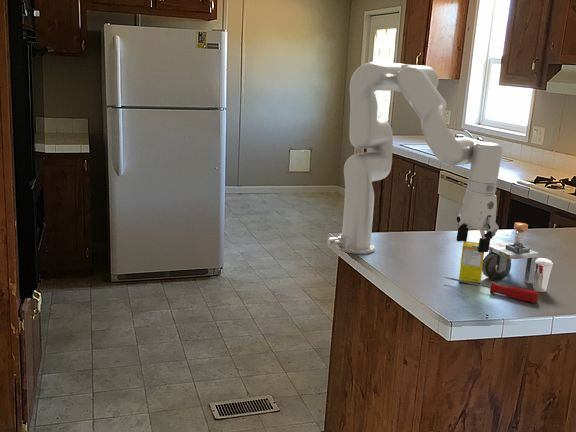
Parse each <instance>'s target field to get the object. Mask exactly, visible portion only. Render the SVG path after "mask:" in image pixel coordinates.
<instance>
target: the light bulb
mask: <svg viewBox="0 0 576 432" xmlns="http://www.w3.org/2000/svg"><path fill="white" fill-rule="evenodd" d="M528 227H529V224H528V223H525V222H514V225H513V229H514V230H515V232H514V233H515V235H514V240H513V243H514V246H513V247H515V248H517V249H518V248H522V247H523V245H524V239H525V232H527V231H528Z"/></svg>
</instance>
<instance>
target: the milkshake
mask: <svg viewBox="0 0 576 432" xmlns="http://www.w3.org/2000/svg"><path fill="white" fill-rule="evenodd" d="M555 262H556V260H555V261H553V262H552V260H550V259H548V258H546V257H545V258H543V257H537V258H536V261H535V269H534V276H533V286H532V288H533V289H532V290H536V291H538V292H540V293H545V292H547V289H548V285H549V284H548V283H549V281H550V275H551V273H552V269H553V265H554V263H555Z"/></svg>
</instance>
